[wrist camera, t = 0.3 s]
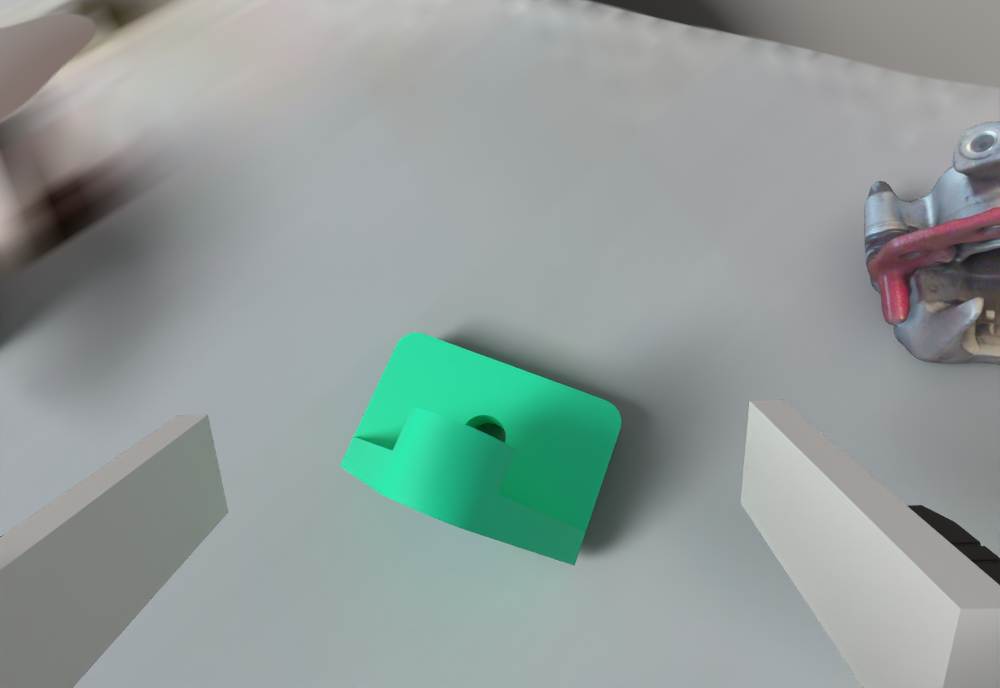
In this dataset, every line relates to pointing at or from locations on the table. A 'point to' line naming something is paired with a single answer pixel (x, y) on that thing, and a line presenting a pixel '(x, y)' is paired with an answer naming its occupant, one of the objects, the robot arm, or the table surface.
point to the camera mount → (485, 446)
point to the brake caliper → (942, 256)
